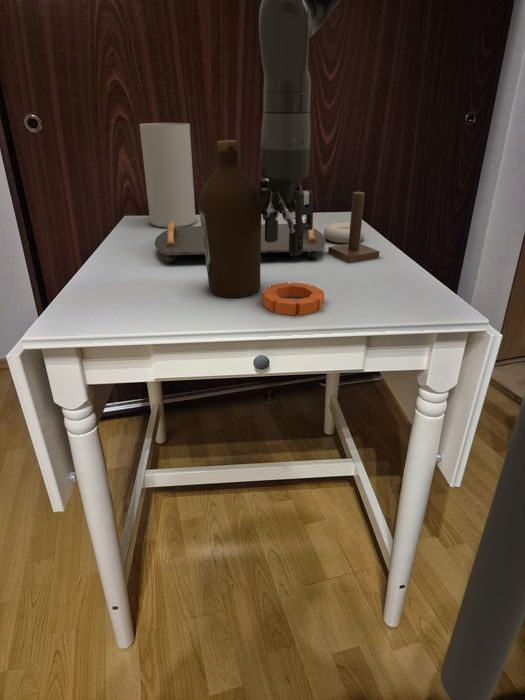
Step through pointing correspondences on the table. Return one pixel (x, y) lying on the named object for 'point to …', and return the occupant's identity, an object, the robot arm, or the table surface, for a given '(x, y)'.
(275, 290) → the ring
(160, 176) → the cylinder vase
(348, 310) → the table surface
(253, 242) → the olive oil
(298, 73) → the robot arm
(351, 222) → the stand
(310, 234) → the serving tray
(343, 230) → the donut
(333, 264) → the table surface
